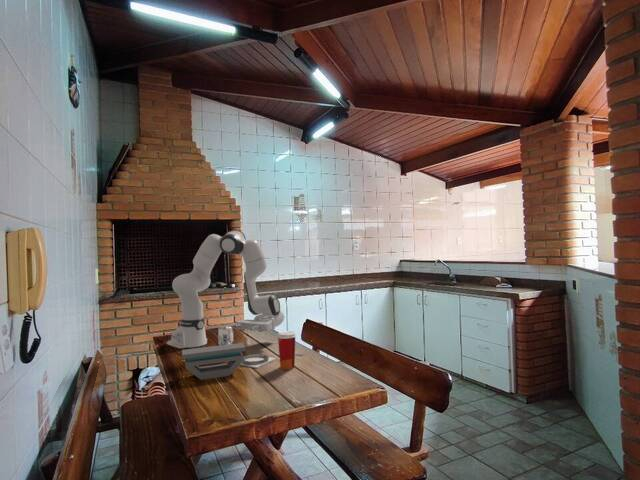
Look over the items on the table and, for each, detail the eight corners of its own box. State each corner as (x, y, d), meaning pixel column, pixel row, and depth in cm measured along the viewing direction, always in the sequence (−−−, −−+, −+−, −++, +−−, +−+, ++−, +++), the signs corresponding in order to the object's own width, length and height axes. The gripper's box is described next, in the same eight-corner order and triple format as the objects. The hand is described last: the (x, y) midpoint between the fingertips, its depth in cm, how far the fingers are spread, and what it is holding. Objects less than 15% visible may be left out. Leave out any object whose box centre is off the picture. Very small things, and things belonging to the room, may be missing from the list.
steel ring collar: (235, 362, 172) (235, 359, 172) (253, 355, 183) (253, 352, 183) (256, 366, 166) (256, 363, 166) (273, 358, 177) (273, 356, 177)
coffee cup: (288, 363, 171) (287, 329, 172) (300, 367, 166) (299, 332, 166) (273, 367, 166) (273, 333, 166) (285, 372, 160) (285, 336, 160)
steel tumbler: (230, 361, 176) (229, 329, 176) (216, 361, 177) (215, 328, 177) (236, 357, 182) (235, 325, 182) (222, 356, 184) (222, 325, 184)
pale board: (233, 364, 172) (233, 362, 172) (253, 355, 184) (253, 354, 184) (257, 368, 165) (257, 367, 165) (276, 359, 177) (276, 358, 177)
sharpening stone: (182, 382, 150) (182, 355, 150) (182, 376, 158) (181, 350, 158) (246, 373, 160) (245, 347, 160) (242, 367, 167) (242, 342, 167)
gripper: (246, 315, 207) (228, 320, 195) (276, 318, 197) (259, 323, 185) (246, 327, 207) (228, 333, 195) (277, 330, 197) (259, 336, 185)
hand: (243, 328), depth 190 cm, fingers open, 8 cm apart
